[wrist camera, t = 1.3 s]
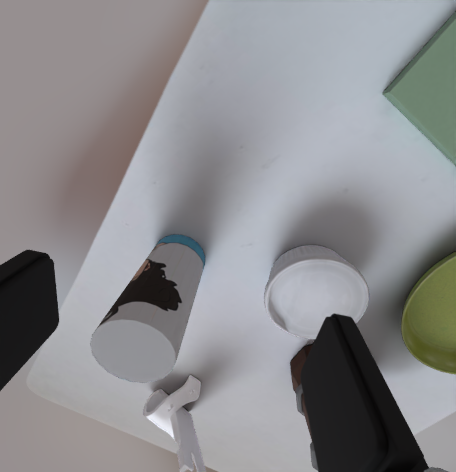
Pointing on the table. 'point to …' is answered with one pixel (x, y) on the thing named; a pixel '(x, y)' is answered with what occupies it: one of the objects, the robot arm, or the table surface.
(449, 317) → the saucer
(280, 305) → the ramekin
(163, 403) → the plastic part
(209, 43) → the table surface
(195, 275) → the cup
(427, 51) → the scale
